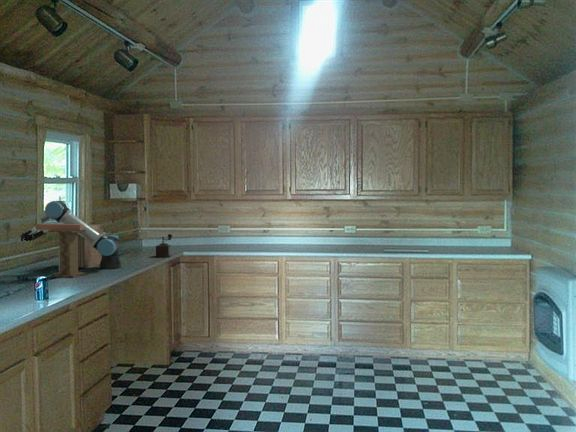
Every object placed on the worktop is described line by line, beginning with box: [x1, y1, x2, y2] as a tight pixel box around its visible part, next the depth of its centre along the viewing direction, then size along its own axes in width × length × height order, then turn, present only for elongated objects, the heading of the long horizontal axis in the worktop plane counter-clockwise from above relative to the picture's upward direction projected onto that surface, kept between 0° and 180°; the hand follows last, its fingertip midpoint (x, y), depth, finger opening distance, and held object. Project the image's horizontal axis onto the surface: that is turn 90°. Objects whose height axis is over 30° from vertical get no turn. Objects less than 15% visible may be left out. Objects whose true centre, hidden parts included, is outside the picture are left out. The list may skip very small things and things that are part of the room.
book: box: [78, 223, 104, 269], centre depth 422 cm, size 25×9×30 cm, turn 167°
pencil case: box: [36, 223, 83, 231], centre depth 379 cm, size 30×4×4 cm, turn 83°
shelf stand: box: [50, 230, 87, 279], centre depth 378 cm, size 17×13×30 cm
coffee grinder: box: [155, 233, 173, 258], centre depth 477 cm, size 16×11×18 cm
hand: (43, 227), depth 383 cm, fingers open, 13 cm apart
